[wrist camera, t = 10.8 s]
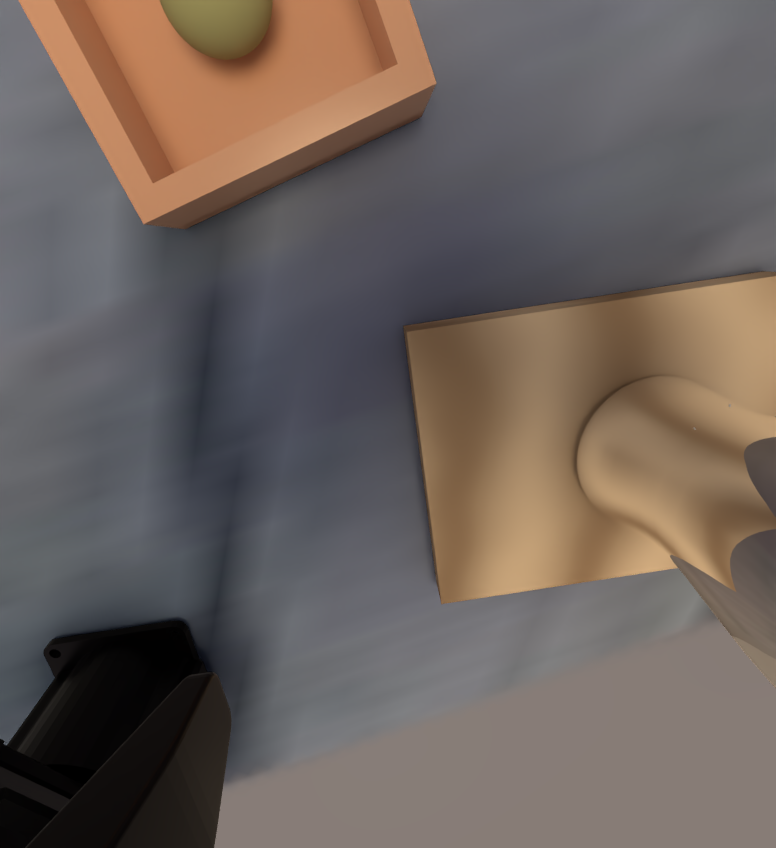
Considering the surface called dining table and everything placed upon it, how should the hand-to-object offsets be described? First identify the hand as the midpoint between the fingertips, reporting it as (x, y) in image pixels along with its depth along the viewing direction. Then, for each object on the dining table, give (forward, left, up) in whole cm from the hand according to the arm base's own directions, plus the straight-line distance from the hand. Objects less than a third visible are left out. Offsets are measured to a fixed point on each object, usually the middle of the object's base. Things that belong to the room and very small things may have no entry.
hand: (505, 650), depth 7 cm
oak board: (+7, -3, -13) cm, 15 cm away
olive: (-4, +13, -11) cm, 17 cm away
